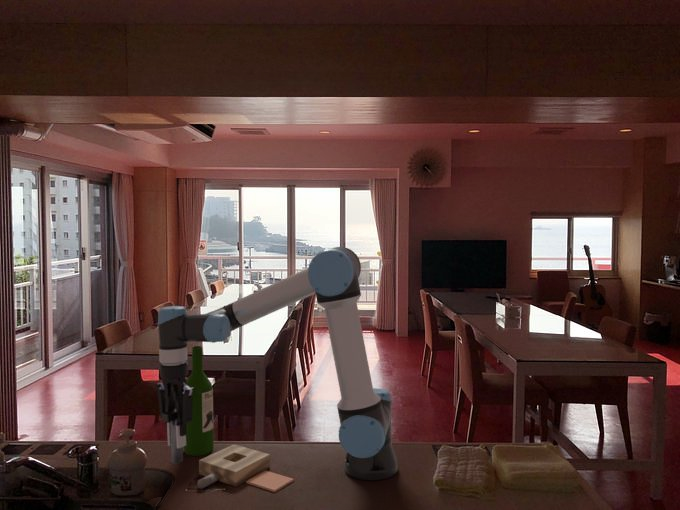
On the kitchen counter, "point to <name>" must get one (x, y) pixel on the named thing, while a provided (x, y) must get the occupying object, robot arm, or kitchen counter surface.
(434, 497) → the kitchen counter surface
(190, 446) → the wine bottle
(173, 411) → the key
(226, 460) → the jig
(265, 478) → the mat
